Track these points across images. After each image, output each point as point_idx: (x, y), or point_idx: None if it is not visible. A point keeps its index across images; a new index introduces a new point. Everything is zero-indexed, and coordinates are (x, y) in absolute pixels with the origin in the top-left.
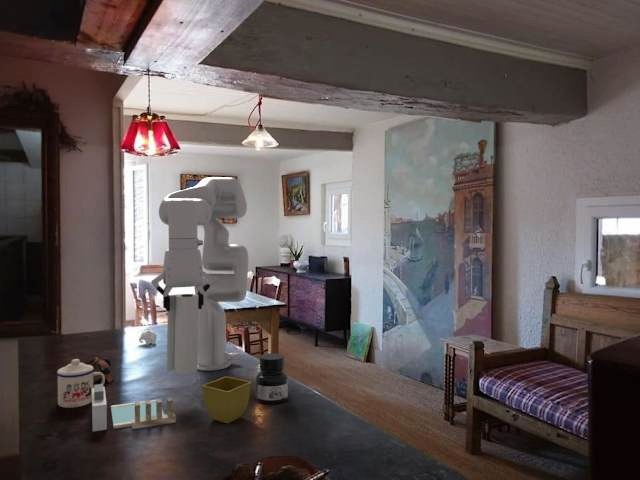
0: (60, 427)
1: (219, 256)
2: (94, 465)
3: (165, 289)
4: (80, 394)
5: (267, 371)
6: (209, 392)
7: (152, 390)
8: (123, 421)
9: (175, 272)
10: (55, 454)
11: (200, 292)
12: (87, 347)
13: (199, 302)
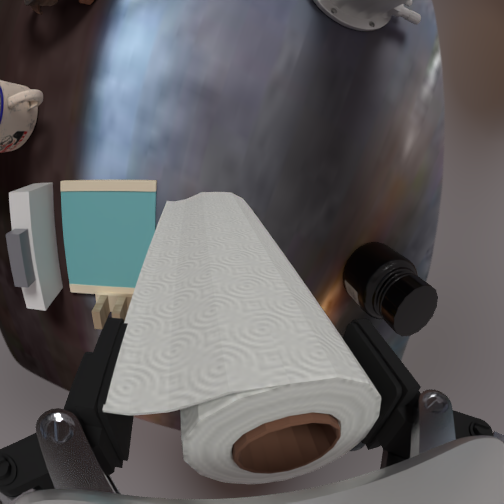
0: (2, 244)
1: None
2: (72, 380)
3: (68, 474)
4: (4, 150)
5: (382, 317)
6: None
7: (161, 88)
8: (84, 277)
9: None
10: (23, 334)
11: (383, 456)
12: None
13: None
